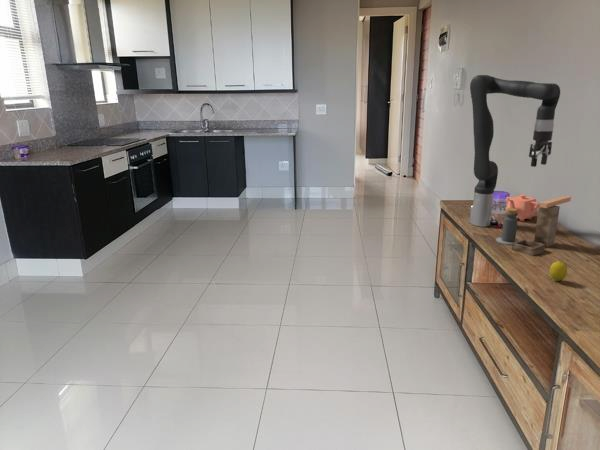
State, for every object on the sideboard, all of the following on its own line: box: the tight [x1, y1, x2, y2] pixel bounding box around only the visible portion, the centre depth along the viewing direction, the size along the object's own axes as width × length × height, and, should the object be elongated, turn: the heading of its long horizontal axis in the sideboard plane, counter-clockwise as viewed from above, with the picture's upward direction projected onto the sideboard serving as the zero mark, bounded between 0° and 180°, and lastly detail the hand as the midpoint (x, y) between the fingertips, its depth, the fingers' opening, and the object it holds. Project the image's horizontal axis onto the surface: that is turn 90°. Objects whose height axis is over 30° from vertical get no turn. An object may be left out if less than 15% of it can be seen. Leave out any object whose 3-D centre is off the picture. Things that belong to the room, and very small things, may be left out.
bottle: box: [501, 208, 519, 242], centre depth 204 cm, size 6×6×15 cm
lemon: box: [549, 260, 568, 282], centre depth 162 cm, size 6×6×8 cm
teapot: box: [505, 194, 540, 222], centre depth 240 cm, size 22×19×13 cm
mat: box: [495, 236, 520, 246], centre depth 206 cm, size 10×10×1 cm
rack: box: [511, 205, 561, 256], centre depth 195 cm, size 10×21×18 cm, turn 124°
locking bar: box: [538, 195, 572, 208], centre depth 198 cm, size 3×21×2 cm, turn 124°
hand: (538, 165), depth 204 cm, fingers open, 8 cm apart
